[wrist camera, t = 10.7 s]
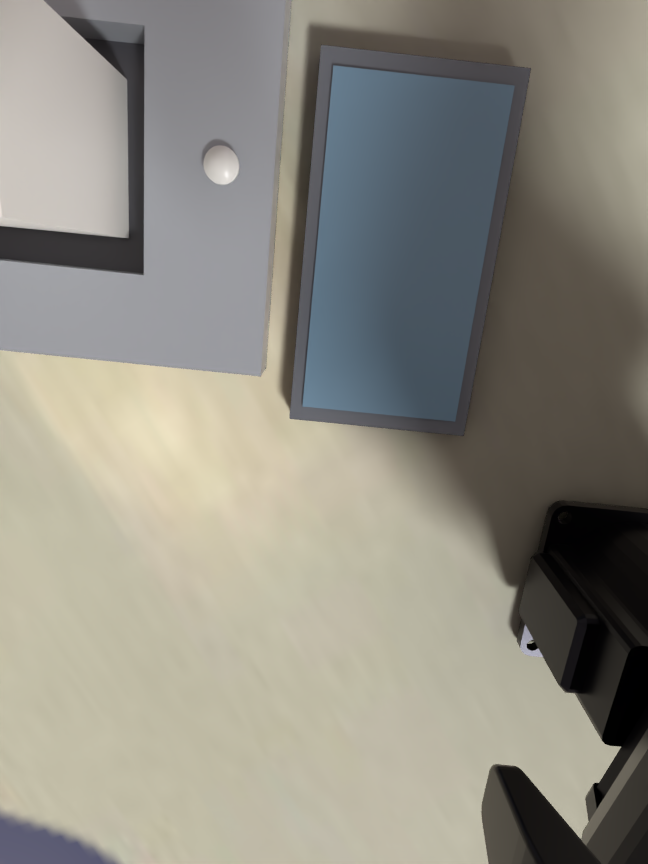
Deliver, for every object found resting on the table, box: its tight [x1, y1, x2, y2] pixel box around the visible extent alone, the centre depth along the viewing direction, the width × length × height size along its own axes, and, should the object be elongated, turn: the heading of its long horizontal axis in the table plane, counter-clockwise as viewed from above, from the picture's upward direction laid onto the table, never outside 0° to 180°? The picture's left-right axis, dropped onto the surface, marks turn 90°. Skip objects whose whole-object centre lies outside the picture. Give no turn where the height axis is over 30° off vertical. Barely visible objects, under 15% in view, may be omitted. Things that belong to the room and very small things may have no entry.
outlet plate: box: [0, 0, 292, 376], centre depth 16 cm, size 14×12×2 cm
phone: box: [290, 45, 531, 436], centre depth 17 cm, size 6×11×1 cm, turn 174°
